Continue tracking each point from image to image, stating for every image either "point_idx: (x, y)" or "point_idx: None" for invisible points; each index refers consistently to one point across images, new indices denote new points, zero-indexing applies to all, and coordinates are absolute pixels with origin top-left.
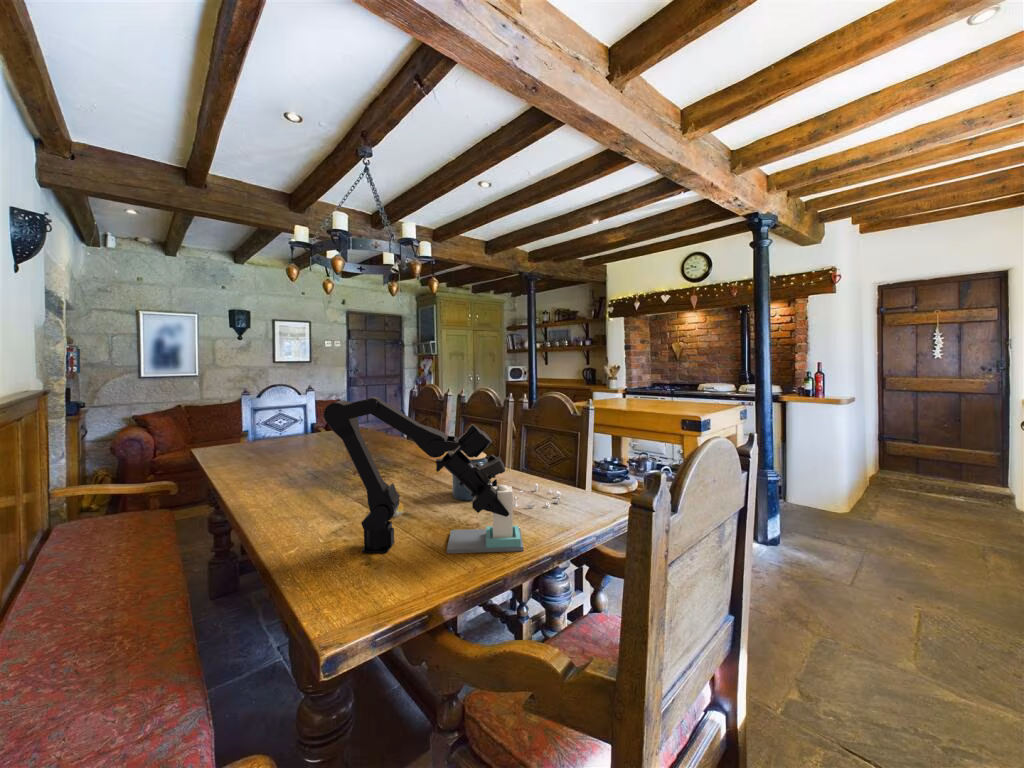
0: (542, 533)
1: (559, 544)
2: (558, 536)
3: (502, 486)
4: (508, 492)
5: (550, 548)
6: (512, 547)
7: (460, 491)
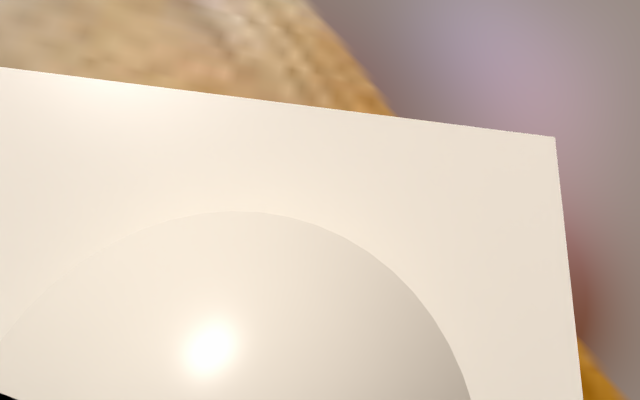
0: (166, 84)
1: (324, 42)
2: (227, 19)
3: None
4: (556, 249)
5: (363, 93)
6: None
7: None
